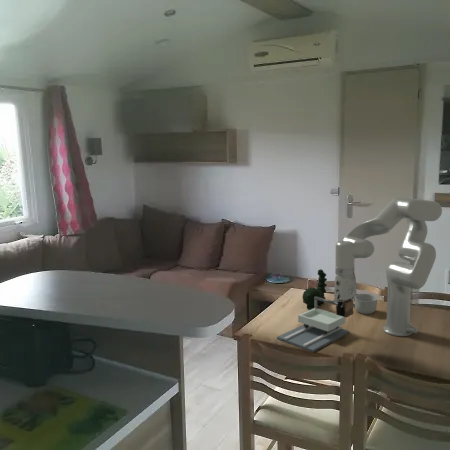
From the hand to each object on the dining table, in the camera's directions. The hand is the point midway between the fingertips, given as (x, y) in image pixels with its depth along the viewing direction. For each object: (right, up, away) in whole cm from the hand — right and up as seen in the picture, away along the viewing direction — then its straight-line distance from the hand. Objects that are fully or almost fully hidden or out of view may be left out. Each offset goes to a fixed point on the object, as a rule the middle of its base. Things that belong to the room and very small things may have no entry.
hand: (344, 313), depth 197 cm
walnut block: (0, -1, 0) cm, 1 cm away
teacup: (+19, -7, +41) cm, 46 cm away
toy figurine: (-3, -6, +51) cm, 51 cm away
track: (-10, -12, +13) cm, 21 cm away
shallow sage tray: (-6, -10, +17) cm, 20 cm away
